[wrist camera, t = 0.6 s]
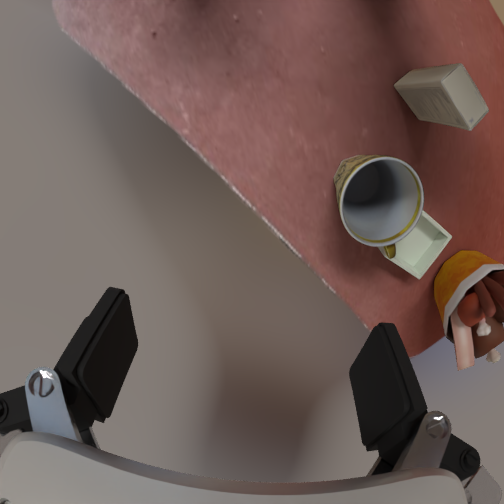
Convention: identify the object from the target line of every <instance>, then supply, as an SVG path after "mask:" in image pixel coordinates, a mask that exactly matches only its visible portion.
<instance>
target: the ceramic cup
mask: <svg viewBox="0 0 504 504" xmlns="http://www.w3.org/2000/svg"><path fill="white" fill-rule="evenodd" d="M333 179H334V183H335V187H336V195H337V203H338V208H339V212H340V216H341V219H342V222H343V225H344V227H345V228H346V230H347V231H348V233H349V234H350V235H351V236H352V237H353V238H354V239H356V240H357V241H359V242H360V243H362V244H365V245H368V246H373V247H383V248H384V251H385V253H386V255H387V257H388V258H389V259H392V258H394V257H395V255H396V246H395V243H396V242H398V241H400V240H402V239H403V238H404V237H406V236H407V235H408V234H409V233H410V232H411V231H412V230H413V228H414V227H415V226H416V224H417V223H418V221H419V219H420V216H421V214H422V210H423V206H424V189H423V185H422V182H421V180H420V178H419V176H418V174H417V173H416V171H415V170H414V169H413V168H412V167H411V166H410V165H409V164H408V163H406V162H405V161H403V160H401V159H398V158H395V157H391V156H386V155H357V156H354V157H351V158H348V159H345V160H342V161H341V163H340V166H339V168H338V170H337V172H336V174H335V176H334V178H333Z"/></svg>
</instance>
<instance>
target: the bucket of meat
mask: <svg viewBox="0 0 504 504" xmlns="http://www.w3.org/2000/svg"><path fill="white" fill-rule="evenodd" d="M434 297H435V301H436V304H437V307H438V310H439V313H440V317H441V320H442V323H443V327H444V333H445V336H446V338H447V339H449V340H450V341H451V342H452V343H454V346H455V352H456V360H457V367H458V371H459V370H462V369H465V368H468V367H471V366H474V356H475V358H479V357H481V356H484V355H485V354H487V353H488V354H487V358H486V359H487V361H488V362H493V363H495V362H497V361H498V360H499V359H500V353H499V352H497V351H496V350H495V349H494V348H495V347H496V346H498V345H499V344H500V343H502V342H503V341H504V328H503V324H502V322H504V265H503V264H501V263H499V262H497V261H495V260H493V259H491V258H490V257H488V256H486V255H484V254H482V253H480V252H478V251H465V250H461V251H459V252H457V253H456V254H455V255H453V256H452V257H450V258H449V259H448V260H446V261H445V262H444V264H443V265H442V267H441V269H440V271H439V272H438V274H437V276H436V277H435V280H434Z"/></svg>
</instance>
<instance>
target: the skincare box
mask: <svg viewBox="0 0 504 504" xmlns="http://www.w3.org/2000/svg"><path fill="white" fill-rule="evenodd" d="M394 87H395V89H396V90H397V91H398V93H399V94H400V95H401V96H402V98H403V99H404V100H405V102H406V103H407V104H408V106H409V107H410V109H411V110H412V111H413V113H414V114H415V115H416V117H417V118H418V119H419V120H423V121H428V122H434V123H439V124H444V125H448V126H453V127H457V128H462V129H466V130H470V131H471V130H472V129H473V128H474V127H475V126H476V125H477V124H478V123H479V121H480V120H481V119H482V118H483V117H484V116H485V115H486V114H487V112H488V111H489V110H488V107H487V105H486V103H485V101H484V99H483V97H482V96H481V94H480V92H479V90H478V88H477V87H476V85H475V83H474V82H473V80H472V79H471V77H470V75H469V74H468V72H467V71H466V69H465V68H464V66H463V65H462V64H461V63H458V64H450V65H442V66H434V67H428V68H422V69H415V70H411V71H410V72H408V73H407V74H406V75H405V76H403V77H402V78H401V79H400V80H399V81H398V82H396V83H395V84H394Z"/></svg>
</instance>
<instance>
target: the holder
mask: <svg viewBox="0 0 504 504" xmlns="http://www.w3.org/2000/svg"><path fill="white" fill-rule="evenodd" d="M451 238H452V236H451V235H450V234H449V233H448V232H447V231H446V230H445V229H444V228H443V227H441V226H440V225H439V224H438V223H437V222H436V221H435V220H434V219H432V218H431V217H430V216H429V215H428V214H427V213H426V212H424V211H423V210H422V214H421V216H420V219H419V221H418V223H417V224H416V226H415V227H414V228H413V230H412V231H411V232H410V233H409V234H408V235H407V236H406V237H404V238H403V239H402V240H400V241H398V242H396V243H395V246H396V255H395V257H394V258H392V259H389V258H388V257H387V255H386V253H385V251H384V248H383V247H378V248H379V250H380V251H381V253H382V254H383V256H384V257H386V258H387V259H389V260H390V261H392V262H394V263H395V264H397V265H398V266H400V267H401V268H403V269H404V270H406V271H407V272H409V273H411V274H412V275H414V276H415V277H417V278H418V279H420V278H421V277H422V276H423V275H424V273H425V272H426V271H427V270H428V268H429V267H430V266H431V265H432V263H433V262H434V261H435V259H436V258H437V257H438V255H439V254H440V253H441V251H442V250H443V249H444V247H445V246H446V245H447V243H448V242H449V240H450V239H451Z"/></svg>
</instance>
